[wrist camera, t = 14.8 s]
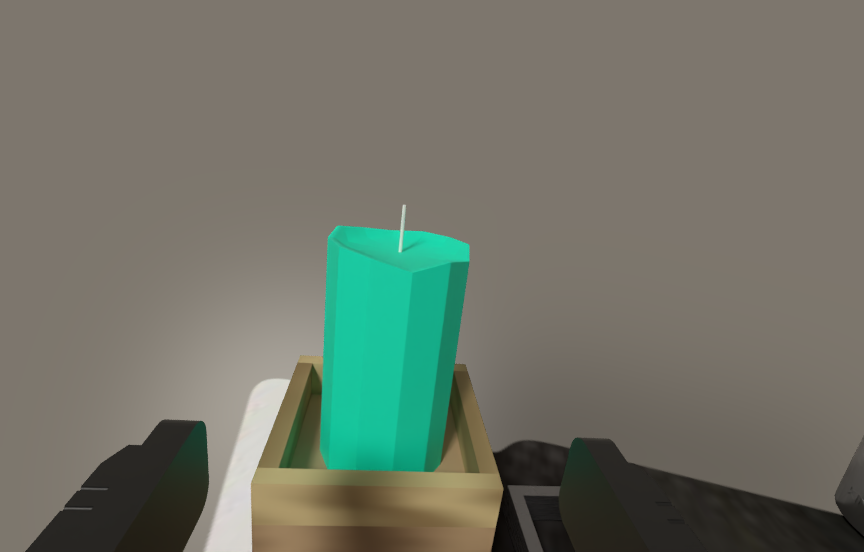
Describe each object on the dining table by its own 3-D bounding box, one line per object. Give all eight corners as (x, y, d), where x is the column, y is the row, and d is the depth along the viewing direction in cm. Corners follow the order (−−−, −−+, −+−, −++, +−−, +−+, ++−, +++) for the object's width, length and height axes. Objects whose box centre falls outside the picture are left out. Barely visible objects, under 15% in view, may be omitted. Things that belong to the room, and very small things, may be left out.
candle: (294, 468, 20) (298, 202, 16) (355, 398, 26) (369, 187, 22) (419, 512, 19) (456, 230, 15) (456, 428, 24) (489, 206, 20)
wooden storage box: (445, 496, 30) (465, 364, 27) (468, 659, 21) (503, 488, 18) (297, 493, 29) (300, 355, 26) (254, 664, 20) (250, 483, 17)
